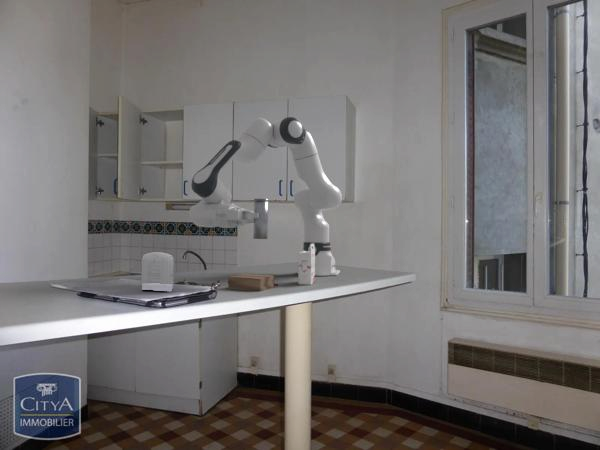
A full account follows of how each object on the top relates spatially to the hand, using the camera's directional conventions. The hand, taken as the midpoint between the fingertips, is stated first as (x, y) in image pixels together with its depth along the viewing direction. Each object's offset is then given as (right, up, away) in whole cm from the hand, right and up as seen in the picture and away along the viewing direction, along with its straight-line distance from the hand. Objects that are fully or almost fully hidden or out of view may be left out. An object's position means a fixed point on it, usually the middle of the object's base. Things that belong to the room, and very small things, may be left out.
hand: (263, 216), depth 152 cm
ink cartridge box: (+15, -25, +8) cm, 30 cm away
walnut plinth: (-3, -24, -6) cm, 26 cm away
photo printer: (-32, -24, -16) cm, 43 cm away
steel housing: (-1, -8, 0) cm, 8 cm away
